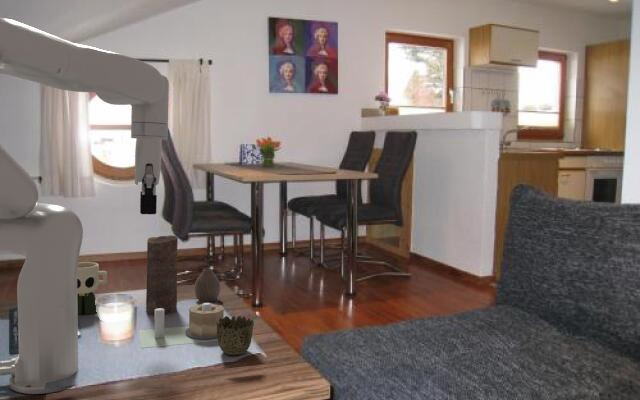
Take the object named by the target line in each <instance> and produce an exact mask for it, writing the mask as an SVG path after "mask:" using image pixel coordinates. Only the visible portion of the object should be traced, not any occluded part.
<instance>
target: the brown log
mask: <svg viewBox="0 0 640 400" xmlns="http://www.w3.org/2000/svg"><path fill="white" fill-rule="evenodd" d="M178 241H179V240H178V236H176V235H172V234H171V235H161V236H153V237H152V236H151V237H148V238H147V241H146V242H147V244H146V247H147V249H146V262H147V263H146V295H145V296H146V299H145V300H146V301H145V307H146V308H145V312H146V314H148V315H151V316H152V315H153V316H155V309H158V308H163V309H164V316H166V315H171V314H174V313H176V312H177V309H178V307H177V306H178V243H179V242H178Z"/></svg>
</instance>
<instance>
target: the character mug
mask: <svg viewBox="0 0 640 400" xmlns="http://www.w3.org/2000/svg"><path fill="white" fill-rule="evenodd" d="M99 267H100V264H99V263H97V262H94V261H93V262H91V261H82V262H79V261H78V269H77V302H78V317H79V316H91V315H97V314H98V311H97V312H96V306H97V304H96V305H95V300H96V296H95V293H94V292H96V291H97V290H98V289H99V286H100V285H106V284H108V272H107V270H100V268H99ZM100 276H102V280H100V278H99V277H100Z"/></svg>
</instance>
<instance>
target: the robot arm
mask: <svg viewBox="0 0 640 400" xmlns="http://www.w3.org/2000/svg"><path fill="white" fill-rule="evenodd" d="M0 74H2V75H8V76H11V77H15V78H19V79H22V80H27V81H30V82H34V83H37V84H41V85H44V86H47V87H51V88H53V89H57V90H62V91H67V92H68V91H69V92H70V91H71V92H75V93H76V92H77V93H79V92H80V93H95V95H96V96H97V97H98V98H99V99H100V100H101V101H103V102H104V103H106V104H110V105H115V106H116V105H117V106H122V105H123V106H126V105H127V106H128V105H130V106H131V113H130V114H131V119H130V121H131V122H130V123H131V124H130V125H131V126H130V127H131V129H130V138H131V139H136V140H135V151H134V153H135V154H134V184H135V186H136V185H137V186H138V185H139V183H141V191H140V199H139V200H140V201H139V204H140V205H139V208H140V209H139V210H140V211H139V213H140V214H141V215H156V214H157V207H158V206H157V197H158V195H156V193H157V191H156V188H157V187H156V186H158V185H159V184H160V178H161V167H162V145H163V141H168V137H169V130H168V128H169V127H168V126H169V102H170V101H169V99H170V98H169V97H170V96H169V95H170V93H169V90H170V89H169V88H170V85H169V84H170V83H169V79H168V77H167V76H166V75H164V74H161V72H160V71H159V70H158V69H157V68H155V67H154V66H153V65H151V64H149V63H147V62H144V61H142V60H140V59H137V58H134V57H131V56H129V55H125V54H121V53H117V52H113V51H107V50H104V49H99V48H96V47H92V46H89V45H84V44H79V43H74V42H72V41H69V40H66V39H64V38H61V37H58V36H56V35H53V34H50V33H48V32H45V31H42V30H40V29H38V28H35V27H33V26H30V25H28V24H24V23H21V22H19V21H16V20H14V19H9V18H6V17H0ZM83 234H84V230H83V224H82V221H81V220H80V218H79V216H78V215H77V214H76V213H75V212H74V211H73V210H72V209H70V208H67V207H65V206H62V205H58V204H52V203H51V204H50V203H43V202H39V189H38V186H37V184H36V182H35V180H34V179H33V178H32V176H31V175H30V174H29V172H27V170H26V169H24V167H23V166H21V165H20V164H19V162H18V161H16V159H15V158H14V157H13V156H12V155H11V154H10V153H9V152H8V151H7V150H6V149H5V148H4V147H3V146H2V145H1V144H0V252H2V253H6V254H12V255H15V256H16V255H17V256H22V257H25V260H24V263H23V266H22V267H21V270H20V272H19V275H18V278H17V286H16V291H17V292H16V295H17V298H16V299H17V328H18V329H17V330H18V331H17V332H18V355H17V357H12V358H11V360H10V359H8V360H0V377H1V376H5V375H6V376H7V375H10V376H9V381H8V383H9V384H8V386H9V388H10V389H11V390H13V391H15V392H17V393H20V394H27V395H41V394H51V393H56V392H61V391H64V390H68V389H70V388H74V387H75V386H76V384H71V385H70V384H69V385H64V386H63V385H61V386H52V387H46V386H47V383H53V382H58V381H63V380H65V379H67V378H69V377H72V376H73V375H75V374H76V373H78V370H79V333H78V332H79V331H78V330H79V329H78V328H79V325H78V324H79V319H78V317H79V316H78V302H77V269H78V263H79V260H80V259H79V258H80V252H81V248H82V244H83V238H84V236H83Z"/></svg>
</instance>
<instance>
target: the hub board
mask: <svg viewBox="0 0 640 400" xmlns="http://www.w3.org/2000/svg"><path fill="white" fill-rule="evenodd" d="M201 304H202V311H211V304H212V302H211V303H203V302H202V303H201ZM138 335H139V344H140V348H141V349H147V348H157V347H166V346H167V347H168V346H178V345H187V344H189V345H190V344H199V343H209V342H218V335H214V336H203V337H201V336H197V335H192V334H191V333H190V331H189V325H187V326H175V327H165V315H164V309H163V308H158V309H155V315H154V328H152V329H150V328H149V329H139V330H138Z"/></svg>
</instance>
